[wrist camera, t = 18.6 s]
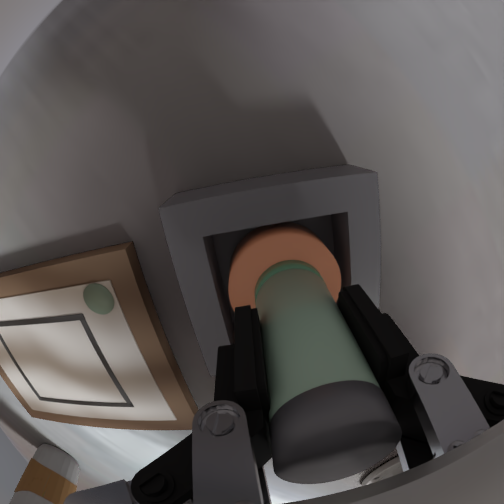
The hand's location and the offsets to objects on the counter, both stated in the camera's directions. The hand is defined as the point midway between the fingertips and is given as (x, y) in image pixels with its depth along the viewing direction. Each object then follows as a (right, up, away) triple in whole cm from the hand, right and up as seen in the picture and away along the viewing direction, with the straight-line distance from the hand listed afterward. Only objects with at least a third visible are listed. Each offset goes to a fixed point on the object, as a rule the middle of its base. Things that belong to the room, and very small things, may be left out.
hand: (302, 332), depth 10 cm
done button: (0, +2, +4) cm, 5 cm away
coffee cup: (-27, -24, +15) cm, 39 cm away
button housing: (0, +3, +6) cm, 6 cm away
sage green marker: (0, +1, +2) cm, 3 cm away
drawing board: (-16, -5, +8) cm, 19 cm away
